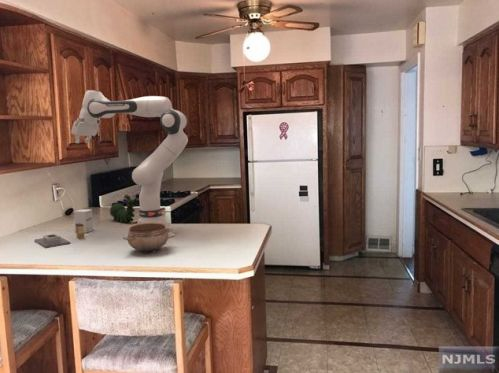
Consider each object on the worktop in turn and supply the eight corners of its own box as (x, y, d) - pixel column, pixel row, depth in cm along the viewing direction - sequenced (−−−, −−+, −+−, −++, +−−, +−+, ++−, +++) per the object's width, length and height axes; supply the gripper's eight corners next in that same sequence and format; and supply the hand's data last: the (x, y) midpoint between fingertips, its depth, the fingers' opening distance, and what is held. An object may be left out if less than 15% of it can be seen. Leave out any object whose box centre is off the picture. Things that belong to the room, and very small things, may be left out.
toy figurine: (138, 225, 272) (118, 217, 290) (138, 195, 269) (117, 189, 286) (125, 227, 265) (105, 219, 283) (124, 197, 262) (104, 190, 279)
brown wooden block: (84, 238, 231) (83, 224, 230) (79, 239, 230) (78, 225, 229) (81, 237, 235) (80, 223, 234) (76, 238, 233) (75, 223, 232)
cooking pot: (135, 260, 188) (133, 233, 186) (114, 252, 201) (113, 227, 200) (182, 249, 205) (180, 224, 203) (160, 242, 218) (159, 219, 217)
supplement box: (86, 233, 245) (85, 211, 244) (75, 232, 247) (73, 211, 245) (93, 230, 252) (92, 209, 251) (82, 230, 254) (80, 209, 252)
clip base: (70, 243, 221) (69, 237, 221) (45, 248, 213) (45, 241, 213) (58, 237, 236) (57, 231, 236) (34, 241, 228) (34, 235, 228)
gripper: (82, 119, 225) (76, 145, 227) (102, 121, 245) (96, 144, 247) (71, 116, 225) (65, 141, 228) (92, 117, 245) (86, 140, 248)
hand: (81, 142), depth 237 cm, fingers open, 8 cm apart
